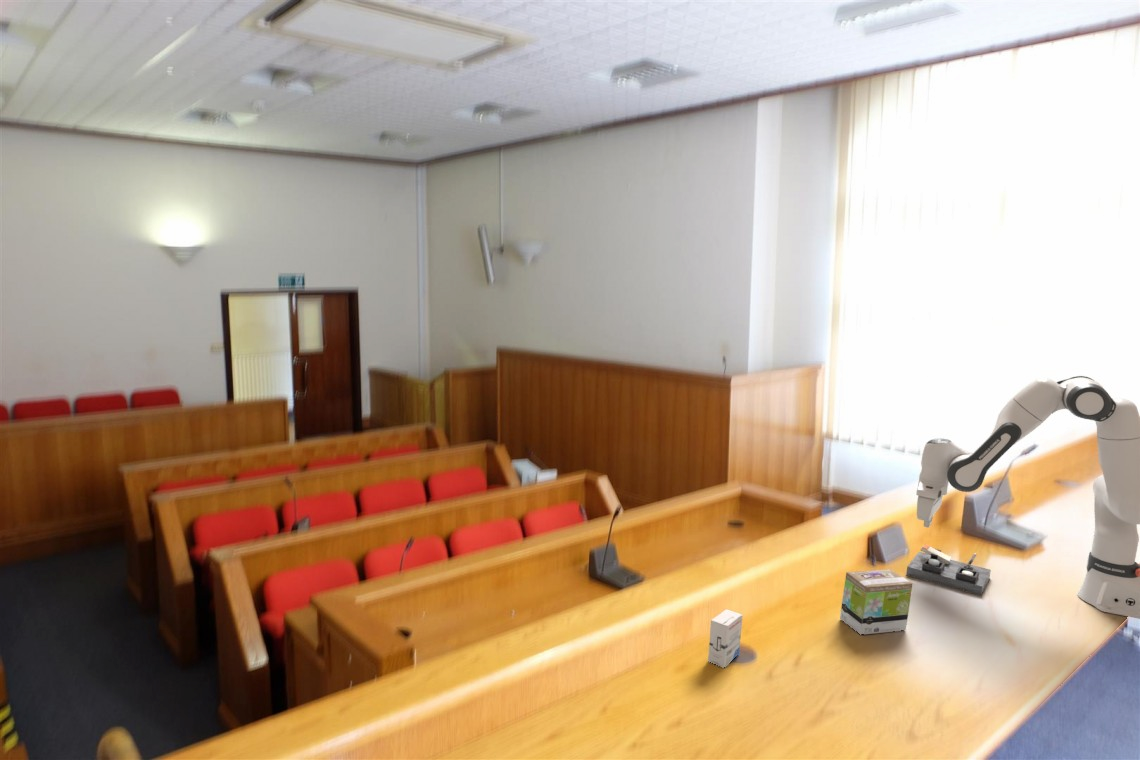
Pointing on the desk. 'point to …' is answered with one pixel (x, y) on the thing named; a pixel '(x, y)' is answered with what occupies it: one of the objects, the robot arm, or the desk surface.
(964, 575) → the panel
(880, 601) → the tea box
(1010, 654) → the desk surface
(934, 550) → the rocker
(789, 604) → the desk surface
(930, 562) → the button
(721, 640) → the ink box
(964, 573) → the button
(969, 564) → the toggle lever
